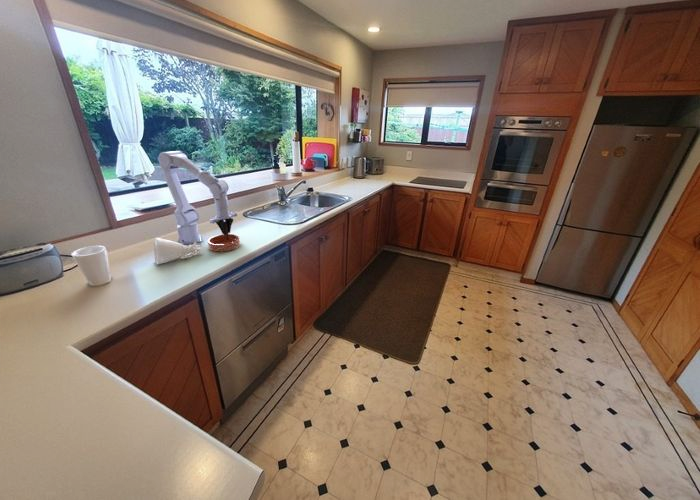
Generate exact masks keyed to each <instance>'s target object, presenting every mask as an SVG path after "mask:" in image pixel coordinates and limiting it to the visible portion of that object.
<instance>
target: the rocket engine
mask: <svg viewBox="0 0 700 500" xmlns="http://www.w3.org/2000/svg"><path fill="white" fill-rule="evenodd" d="M202 247H203V244H198V242H194V243H192V244H189V245H186V244H181V243H180V242H178V241H177V242H176V241H174V240H170V239H165V238H161V237H155V238H154V241H153V253H154V260H155V264H156V265H161V264H166V263H169V262H172V261H175V260H178V259H180V258H181V259H182V260H183V259H187V258H189V257H192V256H193V257H194V256H202V255H203V252H202V251H200V249H199V248H202Z"/></svg>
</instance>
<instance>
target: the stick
mask: <svg viewBox="0 0 700 500" xmlns="http://www.w3.org/2000/svg"><path fill="white" fill-rule="evenodd" d="M223 221H224V222H227V221H226V220H223ZM229 234H230V233H228V227H227V223H226V235H225V240H229Z"/></svg>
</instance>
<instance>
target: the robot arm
mask: <svg viewBox="0 0 700 500" xmlns="http://www.w3.org/2000/svg"><path fill="white" fill-rule="evenodd" d="M157 161H158V164H159V165H160V169H161V173H162V175H163V177H164V180H165V182H166V185H167V187H168V190H169V192H170V194H171V197H172V199H173V202H174V204H175V206H176V209H175V210H174V212H173V213H174V216H175V222H176V224H177V225H176V230H177V233H178V241H179V243H180V244H183V245H188V244H194V242H197V243H200V242H202V238H201V235H200V232H199V226H198V223H199V222H198V220H199V219H200V215H199V212H198V211H197V210H196V208H195V206H193V205H192V204H190V203H189V201H188V198H187V195H186V193H185V191H184V187H183V186H182V184H181V181H180V179H179V176H178V174H177V172H178V170H179V169H180V168H181V167H182V168H184V169H185V170H187V171H188V172H190V173H192V174H193V175H194V176H196V177H197V180H198V181H199V182H200V183H202V185H205V186H206V187H207V188H208V189H209V192H210V193H211V195H212V197H213V199H214V200H213V201H214V207H215V212H216V215H215V216H214V217H211V218H209V220H208V221H209V223H210V224H211V225H214V224H216V225H217V226H218V228H219V229H220V231H221V235H222V234H225V235H226V223H227V227H228V234H231V229H232V226H233V225H232V224H233V222H234V217H238V213H237V212H236V211H232V212H230V205H229V200H228V193H227V192H228V191H229V185H228V183H227V182H226V181H225V180H224V179H219V178H218V177H216V176H214V175H213V174H211V171H209V170H202V169H201V168H200V167H198V165H196V164H195V163H193V162H192V160H190V159H189V158H188V156H187V154H185V153H183V152H182V150H174V151H161V152H160V153H159V155H158V157H157ZM223 220H226V221H227V222H224V221H223Z"/></svg>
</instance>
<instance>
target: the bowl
mask: <svg viewBox="0 0 700 500" xmlns="http://www.w3.org/2000/svg"><path fill="white" fill-rule="evenodd" d="M228 234H229V240H225V234H222V233H221V234H217V235H214V236H211V237H209V239H208V240H207V244H208V248H209V250H210V251H213V252H221V253H222V252H228V251H229V252H230V251H232V250H235V249H237V248H238V247H239V246H241V245H240V244H241V241H240V237H239V235H237V234H233V233H228Z"/></svg>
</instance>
